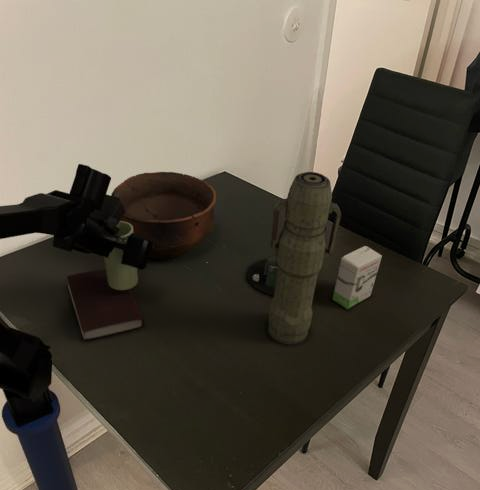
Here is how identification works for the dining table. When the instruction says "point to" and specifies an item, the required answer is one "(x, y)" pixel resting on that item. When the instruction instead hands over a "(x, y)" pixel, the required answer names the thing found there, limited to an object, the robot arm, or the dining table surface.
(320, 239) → the thermos
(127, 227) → the pencil cup
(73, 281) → the book
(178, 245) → the bowl
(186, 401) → the dining table surface
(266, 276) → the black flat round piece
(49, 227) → the robot arm
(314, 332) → the dining table surface
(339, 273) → the ink box
